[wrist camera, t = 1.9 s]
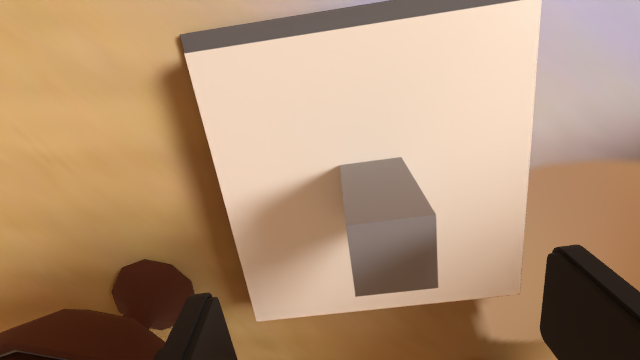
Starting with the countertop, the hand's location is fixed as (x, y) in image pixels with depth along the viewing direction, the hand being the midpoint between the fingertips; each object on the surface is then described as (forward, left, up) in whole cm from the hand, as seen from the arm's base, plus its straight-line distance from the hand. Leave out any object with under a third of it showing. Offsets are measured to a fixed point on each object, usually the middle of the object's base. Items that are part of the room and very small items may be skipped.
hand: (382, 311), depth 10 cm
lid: (-1, 0, -11) cm, 11 cm away
